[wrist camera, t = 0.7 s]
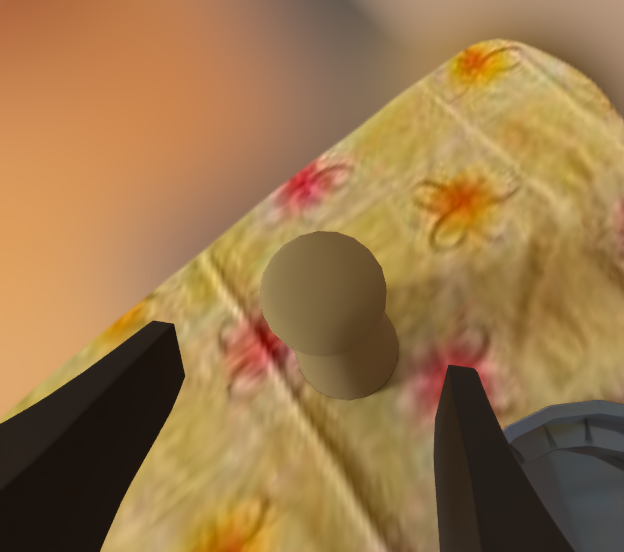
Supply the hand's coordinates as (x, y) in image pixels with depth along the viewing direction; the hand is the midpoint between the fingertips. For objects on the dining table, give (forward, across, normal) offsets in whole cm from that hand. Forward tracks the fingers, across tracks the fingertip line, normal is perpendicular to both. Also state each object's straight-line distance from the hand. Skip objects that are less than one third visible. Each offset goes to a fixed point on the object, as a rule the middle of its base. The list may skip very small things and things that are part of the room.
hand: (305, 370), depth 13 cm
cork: (+12, 0, +11) cm, 16 cm away
